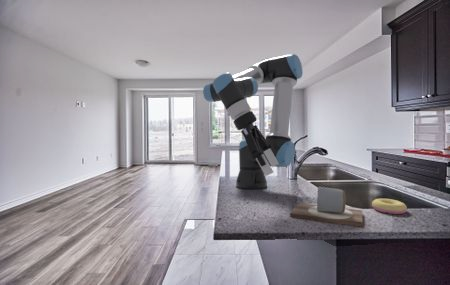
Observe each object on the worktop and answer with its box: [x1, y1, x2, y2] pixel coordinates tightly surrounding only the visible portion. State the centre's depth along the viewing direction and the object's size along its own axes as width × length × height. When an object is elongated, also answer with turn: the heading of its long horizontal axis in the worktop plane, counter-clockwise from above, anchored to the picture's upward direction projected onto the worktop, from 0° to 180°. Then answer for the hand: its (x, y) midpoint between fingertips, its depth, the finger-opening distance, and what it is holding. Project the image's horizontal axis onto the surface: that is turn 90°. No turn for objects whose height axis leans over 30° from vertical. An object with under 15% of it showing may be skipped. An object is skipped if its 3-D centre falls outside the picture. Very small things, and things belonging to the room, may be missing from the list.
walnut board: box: [289, 203, 364, 228], centre depth 81 cm, size 13×20×1 cm, turn 63°
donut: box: [371, 198, 408, 215], centre depth 85 cm, size 10×5×9 cm
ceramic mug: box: [316, 186, 347, 213], centre depth 82 cm, size 11×8×8 cm
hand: (272, 169), depth 87 cm, fingers open, 13 cm apart
